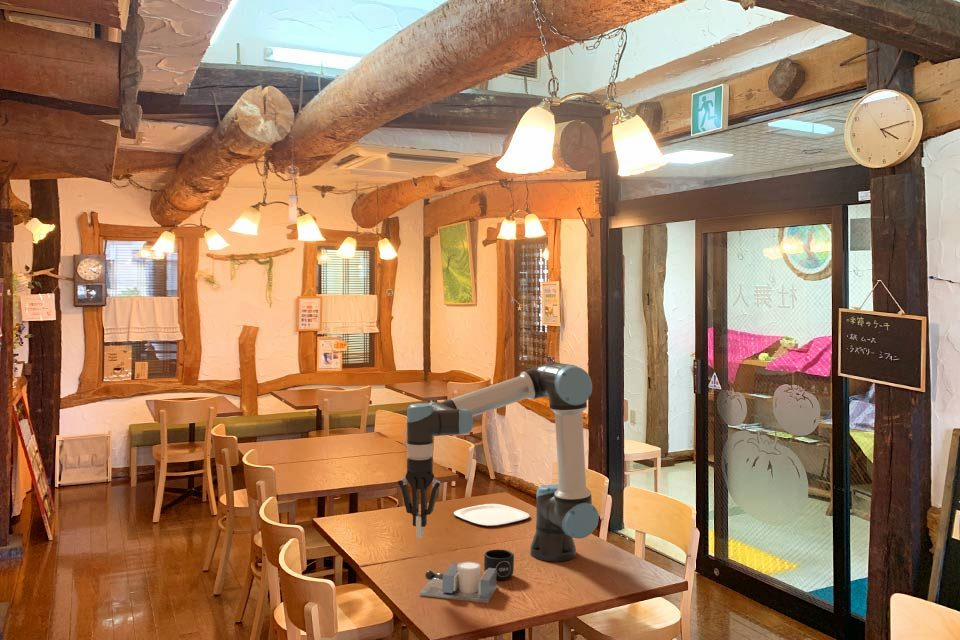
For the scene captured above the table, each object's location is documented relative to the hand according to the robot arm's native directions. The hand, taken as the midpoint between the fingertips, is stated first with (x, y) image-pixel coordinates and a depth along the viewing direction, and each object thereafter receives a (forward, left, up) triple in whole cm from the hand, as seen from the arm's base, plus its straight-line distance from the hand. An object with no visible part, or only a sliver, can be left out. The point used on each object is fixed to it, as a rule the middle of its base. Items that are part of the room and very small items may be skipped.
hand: (419, 537), depth 229 cm
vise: (-12, 0, -15) cm, 19 cm away
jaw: (-7, 0, -14) cm, 15 cm away
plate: (-5, -77, -15) cm, 79 cm away
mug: (-20, -16, -15) cm, 30 cm away
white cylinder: (-15, 0, -14) cm, 21 cm away
